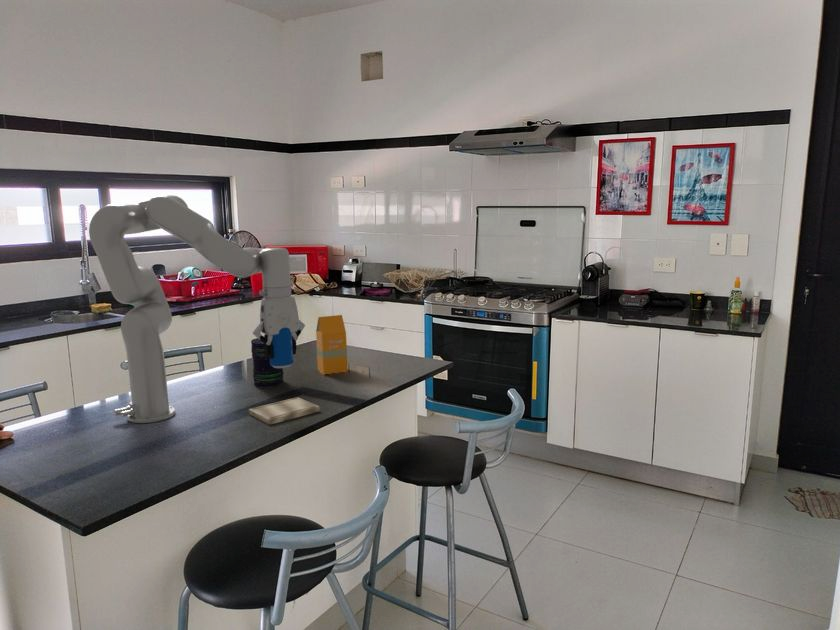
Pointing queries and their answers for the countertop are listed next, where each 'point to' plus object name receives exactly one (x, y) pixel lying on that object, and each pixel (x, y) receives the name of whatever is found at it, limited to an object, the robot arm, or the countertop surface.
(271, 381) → the storage jar
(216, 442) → the countertop surface
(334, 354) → the orange juice
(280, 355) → the beverage can
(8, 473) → the countertop surface
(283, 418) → the bamboo board
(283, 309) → the robot arm
